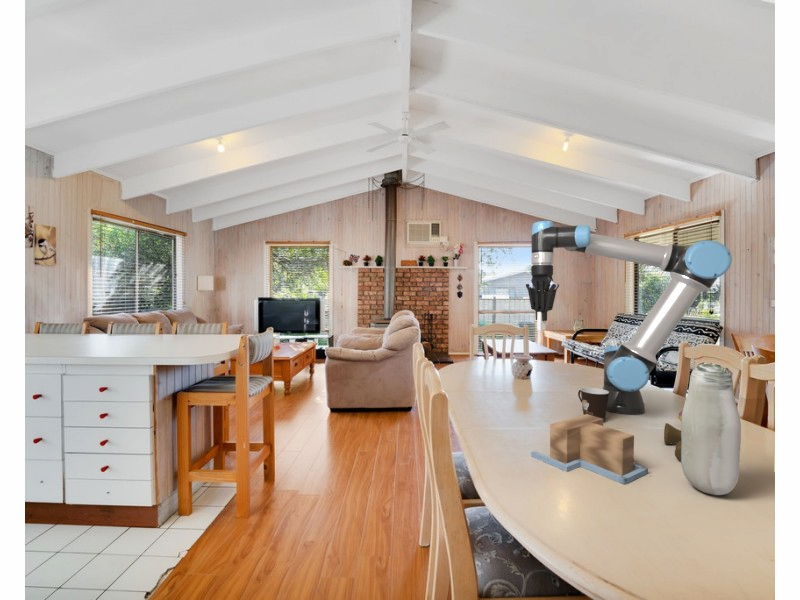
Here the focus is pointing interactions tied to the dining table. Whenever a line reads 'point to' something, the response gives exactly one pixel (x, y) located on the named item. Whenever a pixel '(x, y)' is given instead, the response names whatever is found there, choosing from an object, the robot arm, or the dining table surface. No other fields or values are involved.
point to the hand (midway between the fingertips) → (541, 329)
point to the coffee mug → (594, 401)
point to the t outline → (593, 468)
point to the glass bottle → (711, 431)
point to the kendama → (673, 439)
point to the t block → (592, 444)
